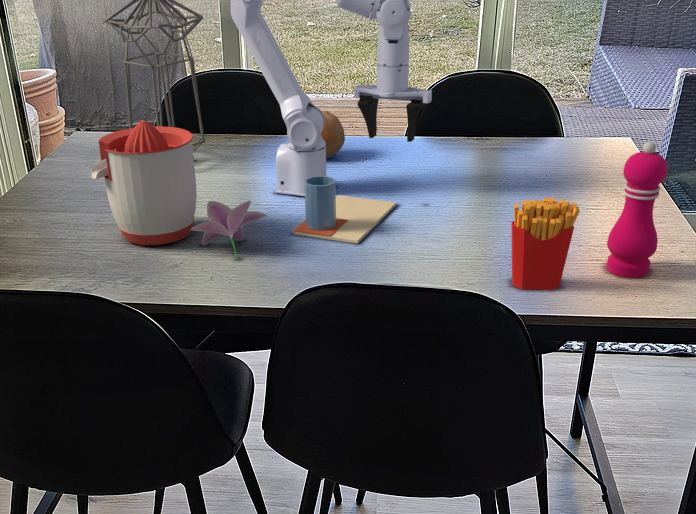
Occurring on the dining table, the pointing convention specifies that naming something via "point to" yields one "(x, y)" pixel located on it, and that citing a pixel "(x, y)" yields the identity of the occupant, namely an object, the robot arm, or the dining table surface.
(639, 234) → the pepper mill
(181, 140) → the citrus juicer
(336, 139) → the onion
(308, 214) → the tumbler
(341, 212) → the cutting board
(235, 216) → the lily
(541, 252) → the french fries
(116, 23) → the geometric lantern
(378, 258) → the dining table surface
